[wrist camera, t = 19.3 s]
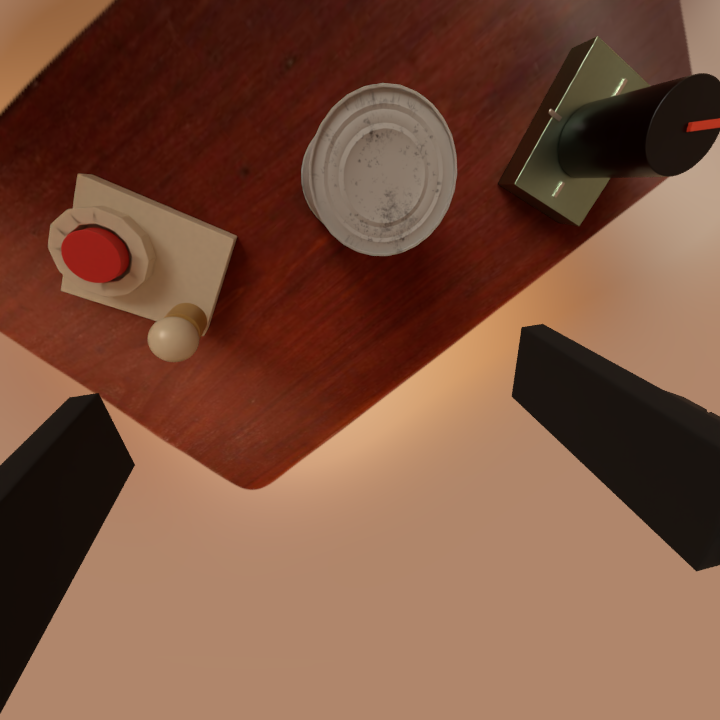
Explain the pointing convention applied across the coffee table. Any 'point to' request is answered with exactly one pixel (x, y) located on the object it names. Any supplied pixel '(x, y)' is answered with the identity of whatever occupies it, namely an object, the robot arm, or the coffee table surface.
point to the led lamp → (177, 333)
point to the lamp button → (95, 254)
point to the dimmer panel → (541, 141)
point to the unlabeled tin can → (381, 170)
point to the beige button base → (145, 251)
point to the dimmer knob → (643, 131)
